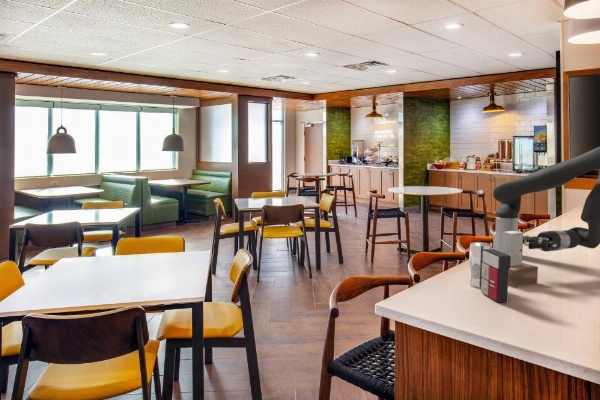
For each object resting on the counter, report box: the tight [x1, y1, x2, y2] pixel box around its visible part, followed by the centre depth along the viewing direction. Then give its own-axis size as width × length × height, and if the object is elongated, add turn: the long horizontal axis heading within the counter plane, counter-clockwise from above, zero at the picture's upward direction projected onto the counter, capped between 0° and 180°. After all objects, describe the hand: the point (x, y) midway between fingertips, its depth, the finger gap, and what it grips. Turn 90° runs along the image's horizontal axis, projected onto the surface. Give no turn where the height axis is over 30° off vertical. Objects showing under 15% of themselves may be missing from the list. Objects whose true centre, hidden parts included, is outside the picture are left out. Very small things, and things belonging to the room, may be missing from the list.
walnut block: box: [508, 262, 539, 288], centre depth 168 cm, size 12×12×6 cm
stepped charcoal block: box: [480, 248, 511, 304], centre depth 149 cm, size 11×4×15 cm, turn 5°
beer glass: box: [469, 241, 491, 289], centre depth 162 cm, size 7×7×15 cm
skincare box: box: [502, 231, 524, 267], centre depth 168 cm, size 6×4×12 cm
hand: (519, 244), depth 169 cm, fingers open, 8 cm apart
